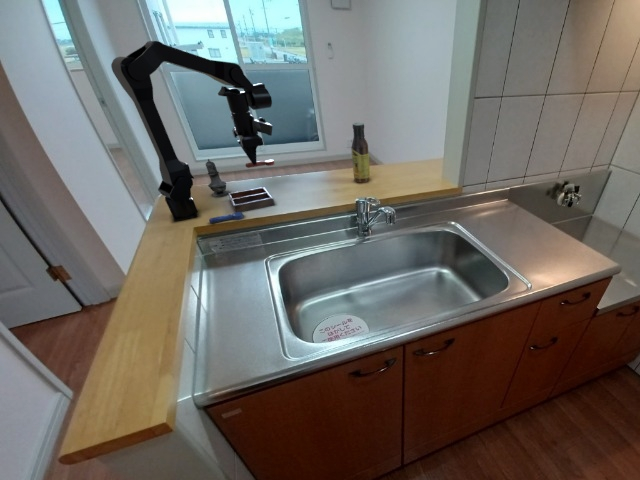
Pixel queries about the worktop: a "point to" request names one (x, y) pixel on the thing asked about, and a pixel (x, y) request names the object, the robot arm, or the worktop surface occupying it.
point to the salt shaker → (216, 181)
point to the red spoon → (260, 163)
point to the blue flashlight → (227, 217)
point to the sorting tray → (251, 199)
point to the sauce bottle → (360, 154)
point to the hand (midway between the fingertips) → (254, 163)
